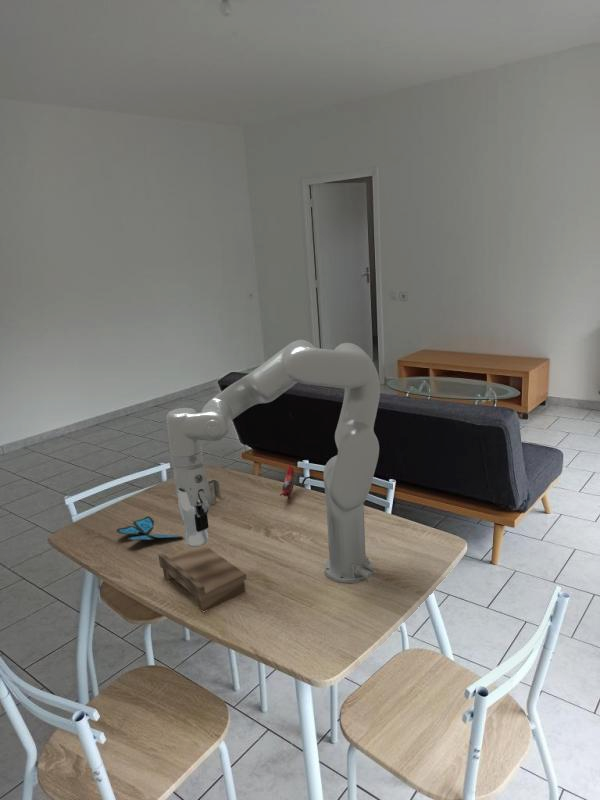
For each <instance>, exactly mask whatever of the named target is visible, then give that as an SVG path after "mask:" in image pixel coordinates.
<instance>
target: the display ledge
mask: <svg viewBox="0 0 600 800" xmlns="http://www.w3.org/2000/svg"><path fill="white" fill-rule="evenodd" d="M157 556H158V561H159V562H158V563H159V567H160V568H162V571H163V572H162V573H163V577H165V578H166V579H165V578H164V579H165V580H167V582H169V581H171V582H173V581H176V582H178V583H179V584H180V585H181V586H182V587H183V588H184V589H186V590H187V591H188V592H189V593H190V594H192V595H193V596H194V597H195V599H196V603H197V604H196V605H197V608H198V607H199V608H198V609H200V610H201V611H202V610H203V611H205V612H207V611H209V610H211V609H214V608H215V607H217V606H219V605H221V604H223V603H225V602H227V601H229V600H231V599H233V598H235V597H238V596H239V595H241V594H243V593H245V592H246V585H245V581H246V580H248V579H247V573H245V572H244V571H242V570H241V569H240V568H238V567H237V566H236V565H234V564H233V563H231V562H230V561H228V560H227V559H226V558H224V557H222V556H221V555H220V554H218V553H217V552H215V551H214V550H213V549H211V548H210V547H208V546H207V545H206V544H204V545H202V546H197V547H191V546H190V547H189V548H187V549H184V550H183V551H179V552H177V553H175V554H172V555H171V556H167V555H166V554H164V553H163V552H160V553H158V555H157ZM174 579H175V580H174ZM172 580H173V581H172ZM206 610H207V611H206ZM203 611H202V612H203Z"/></svg>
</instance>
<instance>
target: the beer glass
mask: <svg viewBox="0 0 600 800" xmlns="http://www.w3.org/2000/svg"><path fill="white" fill-rule="evenodd" d="M177 489H178V496H177V501H178V502H177V503H178V509H179V513H180V516H181V517H180V518H181V520H183V521H182V523H183V526H184V531H185V532H184V533H185V536H184V537H185V539H184V543H185V545H187V546H188V547H190V548H191V547H197V546H202V545H206V544H207V543H209V540H210V535H209V533H208V528H207V529H205V530H202V531H200V532H197V531H196V524H195V517H196V514H195V511H194V507H193V506H191V505H190V502H189V499H188V496H187V492H183V491H180V490H179V487H178V488H177ZM199 503H201V502H200V500H199V498H198V502H197V504H199ZM200 509H202V505H201V506H198V510H200Z"/></svg>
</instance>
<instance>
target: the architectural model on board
mask: <svg viewBox="0 0 600 800" xmlns="http://www.w3.org/2000/svg"><path fill="white" fill-rule="evenodd" d="M208 485H209V491H210V502H209V504H210V506H212V505H213V504H215V503H217V502H219V501H222V496H221V495H222V494H221V486H220V480H219V479H216V478H213V479H210V480H209V481H208Z"/></svg>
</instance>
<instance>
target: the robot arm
mask: <svg viewBox="0 0 600 800" xmlns="http://www.w3.org/2000/svg"><path fill="white" fill-rule="evenodd" d="M298 383H299V384H304V385H309V386H317V387H318V386H319V387H326V388H327V387H330V388H338V389H339V388H341V389H344V396H343V399H342V400H343V402H342V406H341V409H340V413H339V419H338V422H337V425H336V429H335V432H334V441H335V445H336V448H337V455H335V456H333V457H331V458H329V460H328V461H327V462H326V464H325V466H324V469H323V474H322V475H323V486H324V495H325V505H326V507H325V509H326V525H327V541H328V559H327V560H326V561H325V563H324V566H323V570H324V571H323V572H324V574H325V575H326V576H327V577H328V578H329V579H330V580H332V581H335V582H338V583H343V584H353V583H358V582H361V581H363V580H365V579H367V581H368V580H372V578H373V574H374V573H375V571H376V567H374V566H373V564H372V562H371V560H370V558H369V557H368V556H366V554H367V553H366V534H365V532H366V530H365V506H364V503H365V501H366V500H367V498H368V496H369V493H370V490H371V487H372V483H373V479H374V475H375V472H376V468H377V464H378V460H379V455H380V443H379V440H378V437H377V436H376V434H375V431H374V427H375V422H376V419H377V412H378V407H379V404H380V403H379V402H380V397H381V383H380V377H379V373H378V370H377V368H376V365H375V364H374V361H373V360H372V358H371V356H369V354H368V353H367V352H366V351H365V350H363V349H362V348H361V347H360V346H358V344H357V345H356V344H355V343H352V342H342V343H340V344H338V345H337V346H336V347H335V348H334V349H326V348H320V347H319V348H318V347H315V346H314V344H312V343H311V342H309V341H308V340H304V339H297V340H295V341H294V340H293V341H292V342H290V343H289V344H287V345H286V346H285V347H283V348H282V349H280V350H279V351H278V352H277V353H275V354H274V355H272V356H271V357H270V358H269V359H267V360H266V361H264V362H263V363H262V364H261V365H259V366H258V367H256V368H255V369H254V370H252V371H251V372H249V373H248V374H246V375H244V376H243V377H241V378H240V379H238V380H236V381H235V382H233V383H232V384H230V385H228V386H227V387H226V388H225V389H224V390H221V391H220V392H219V393H217V394H216V395H214V397H212V398H211V399H209V401H208V402H206V403H205V405H204V406H203V407H202V410H201V411H200V412H197V411H196V410H195V409H194V408H190V407H179V408H175V409H172V410H170V411H169V412H167V414H166V417H165V421H166V427H167V435H168V442H169V451H170V459H171V460H170V461H171V466H172V468H173V481H174V490H175V494H176V496H177V497H178V489H177V488H178V487H179V490H180V491H183V492H187V496H188V499H189V502H190V505H191V506H193V507H194V511H195V514H196V517H195V524H196V531H197V532H200V531H202V530H205V529H207V530H208V529H209V527H210V525H209V519H208V518H209V517H208V514H209V511H210V508H211V505H210V504H209V502H210V491H209V485H208V476H207V473H206V472H207V471H206V469H205V466H204V457H203V448H202V441H206V442H216V441H221V440H222V439H224V438H225V437H227V435H228V434H229V431H230V427H231V422H232V421H233V420H234V419H235V418H236V417H238V416H240V415H241V414H242V413H244V412H245V411H246V410H249V408H251V407H253V406H255V405H256V406H257V405H258V404H268V403H271V402H273V401H274V400H276V399H277V398H279V397H280V396H281V395H282V394H284V393H285V392H287V391H288V390H289V389H291V388H292V387H293V386H295V385H296V384H298ZM198 498H199V500H200V502H201V503H199V504H197V502H198ZM201 505H202V509H200V510H198V506H201ZM181 520H182V519H181ZM182 522H183V520H182Z"/></svg>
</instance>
